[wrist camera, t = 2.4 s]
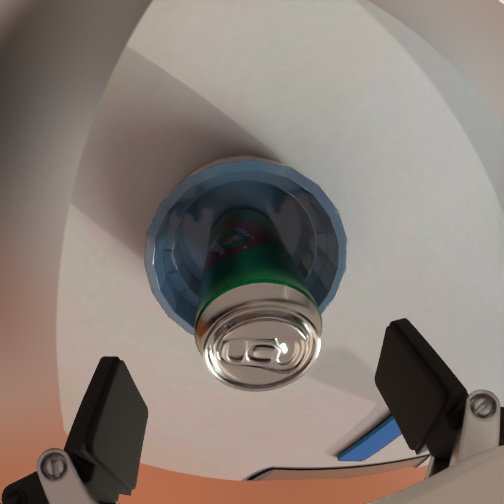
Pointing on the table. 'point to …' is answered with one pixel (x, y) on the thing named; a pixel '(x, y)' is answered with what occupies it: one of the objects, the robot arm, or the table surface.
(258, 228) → the soda can
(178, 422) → the table surface
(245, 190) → the bowl
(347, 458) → the smartphone
